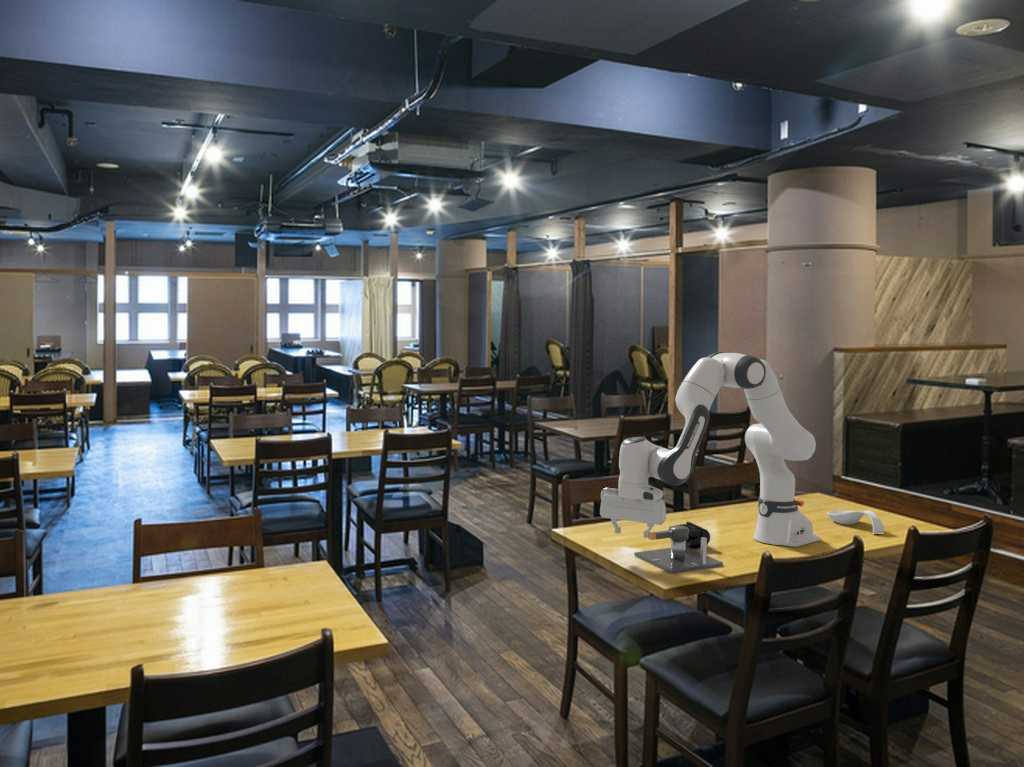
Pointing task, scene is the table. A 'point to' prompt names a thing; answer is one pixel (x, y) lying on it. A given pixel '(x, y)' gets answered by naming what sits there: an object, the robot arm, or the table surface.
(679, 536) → the collar
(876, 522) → the spoon rest
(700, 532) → the end cap
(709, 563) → the mount base
